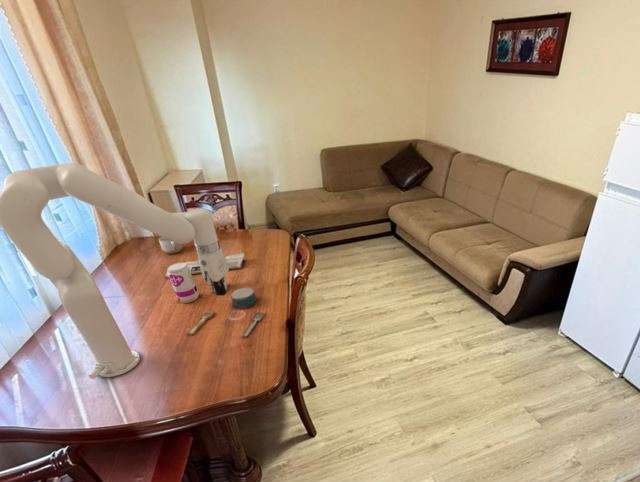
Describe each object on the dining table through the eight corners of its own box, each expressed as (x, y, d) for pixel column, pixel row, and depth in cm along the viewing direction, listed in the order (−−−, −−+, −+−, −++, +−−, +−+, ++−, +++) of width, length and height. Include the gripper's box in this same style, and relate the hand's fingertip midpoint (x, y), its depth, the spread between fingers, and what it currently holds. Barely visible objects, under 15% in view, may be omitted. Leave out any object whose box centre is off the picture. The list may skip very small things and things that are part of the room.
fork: (248, 337, 137) (248, 335, 137) (241, 336, 137) (241, 335, 137) (264, 314, 149) (263, 313, 148) (257, 314, 149) (257, 313, 149)
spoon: (196, 334, 140) (195, 332, 139) (186, 334, 141) (185, 332, 140) (215, 313, 152) (214, 311, 151) (206, 313, 152) (205, 311, 152)
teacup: (163, 250, 210) (158, 236, 206) (184, 245, 214) (179, 231, 209) (163, 259, 200) (158, 244, 195) (186, 254, 203) (180, 240, 199)
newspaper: (166, 278, 180) (163, 271, 178) (173, 267, 191) (170, 260, 189) (243, 268, 185) (241, 261, 183) (246, 258, 195) (244, 251, 193)
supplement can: (192, 304, 159) (179, 271, 150) (174, 303, 161) (161, 270, 152) (203, 294, 165) (191, 262, 157) (186, 293, 167) (174, 261, 159)
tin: (251, 309, 153) (248, 298, 150) (229, 308, 154) (226, 298, 152) (260, 297, 160) (257, 287, 158) (239, 296, 162) (236, 287, 159)
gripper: (207, 256, 124) (221, 305, 134) (228, 239, 137) (240, 285, 147) (185, 255, 125) (201, 304, 135) (208, 238, 138) (221, 284, 148)
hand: (221, 294), depth 141 cm, fingers closed
